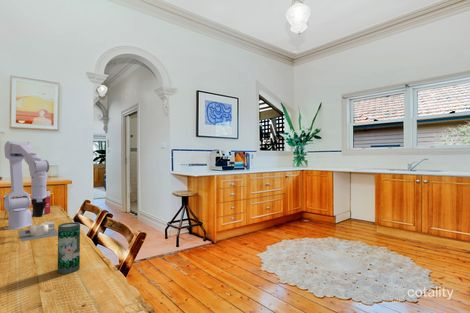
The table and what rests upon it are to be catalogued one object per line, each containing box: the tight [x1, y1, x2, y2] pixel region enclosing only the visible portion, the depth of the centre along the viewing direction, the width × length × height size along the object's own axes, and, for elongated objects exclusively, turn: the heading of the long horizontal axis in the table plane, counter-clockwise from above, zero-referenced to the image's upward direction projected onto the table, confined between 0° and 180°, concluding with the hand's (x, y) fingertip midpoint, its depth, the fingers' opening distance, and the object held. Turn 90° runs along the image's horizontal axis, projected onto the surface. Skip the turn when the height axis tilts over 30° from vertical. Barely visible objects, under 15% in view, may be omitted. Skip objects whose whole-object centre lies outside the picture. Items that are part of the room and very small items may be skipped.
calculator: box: [31, 189, 51, 218], centre depth 167 cm, size 11×4×15 cm, turn 179°
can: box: [57, 221, 81, 275], centre depth 89 cm, size 6×6×15 cm
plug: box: [25, 224, 53, 236], centre depth 125 cm, size 10×4×4 cm, turn 131°
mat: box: [18, 227, 58, 242], centre depth 127 cm, size 20×14×1 cm
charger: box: [40, 221, 55, 230], centre depth 134 cm, size 5×5×3 cm
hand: (38, 215), depth 125 cm, fingers open, 7 cm apart
